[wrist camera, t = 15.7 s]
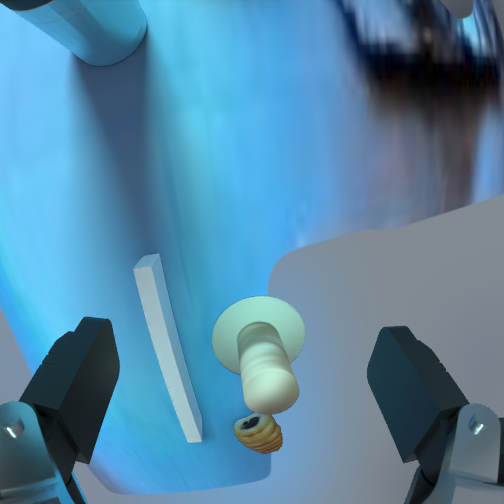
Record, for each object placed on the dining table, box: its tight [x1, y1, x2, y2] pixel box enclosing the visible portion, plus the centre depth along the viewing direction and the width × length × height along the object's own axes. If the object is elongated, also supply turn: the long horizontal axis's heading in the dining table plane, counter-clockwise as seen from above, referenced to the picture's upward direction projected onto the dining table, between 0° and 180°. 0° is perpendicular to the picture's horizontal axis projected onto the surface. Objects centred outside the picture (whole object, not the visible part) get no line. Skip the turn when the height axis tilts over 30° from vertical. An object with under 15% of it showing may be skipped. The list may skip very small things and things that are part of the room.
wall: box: [133, 253, 202, 443], centre depth 37 cm, size 26×2×5 cm, turn 7°
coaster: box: [212, 296, 305, 375], centre depth 40 cm, size 12×12×1 cm
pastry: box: [233, 412, 283, 454], centre depth 43 cm, size 9×7×4 cm
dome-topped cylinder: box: [237, 321, 299, 415], centre depth 35 cm, size 6×6×11 cm
